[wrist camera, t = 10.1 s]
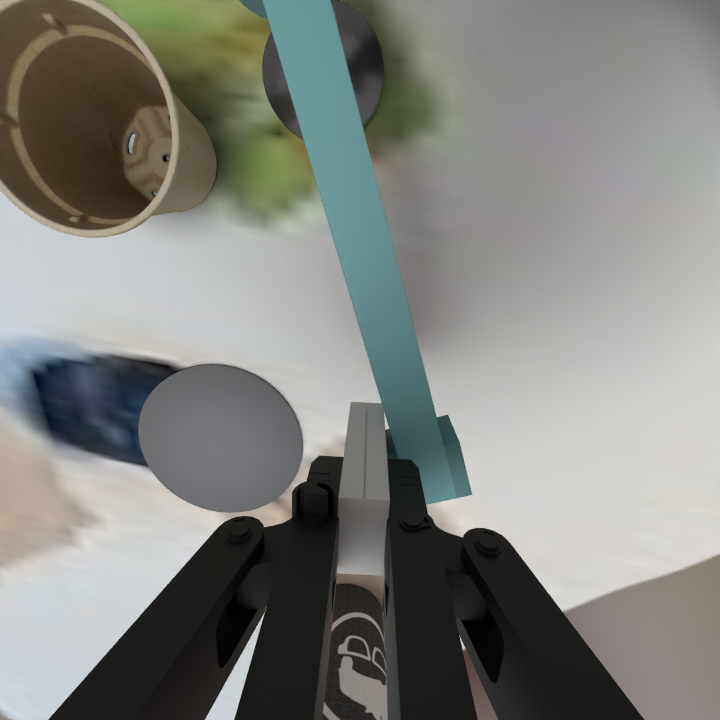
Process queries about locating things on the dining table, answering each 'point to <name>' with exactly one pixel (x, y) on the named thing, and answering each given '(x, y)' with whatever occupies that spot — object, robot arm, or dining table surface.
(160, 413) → the pad
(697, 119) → the dining table surface
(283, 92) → the grey pedestal stand
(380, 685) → the coffee cup
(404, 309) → the teal paddle stick
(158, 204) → the flower pot
